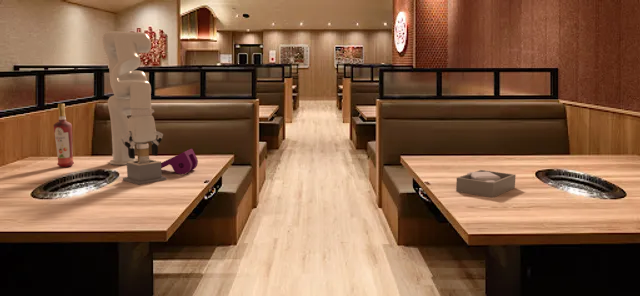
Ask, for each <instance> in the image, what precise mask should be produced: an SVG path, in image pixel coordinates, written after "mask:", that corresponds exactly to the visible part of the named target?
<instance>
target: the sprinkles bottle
mask: <svg viewBox="0 0 640 296" xmlns="http://www.w3.org/2000/svg"><path fill="white" fill-rule="evenodd" d="M135 145H136V146H135V147H136V153H137V159H138V164H144V163H149V159H150V154H149V153H150V151H149V147H150V145H149V143H148V142H142V143H136V144H135Z"/></svg>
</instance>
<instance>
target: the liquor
mask: <svg viewBox="0 0 640 296" xmlns="http://www.w3.org/2000/svg"><path fill="white" fill-rule="evenodd" d="M65 106H66V104H65V103H57V108H58V121H57V122H55V123H54V124H53V132H54V140H55V147H56V154H57V166H58V167H60V168H70V167H72V166H73V165H74V164H75V163H74V159H73V158H74V157H73V156H74V154H73V124H72V123H71V122H69V121H67V118H66V112H65V111H66V110H65V109H66V107H65Z"/></svg>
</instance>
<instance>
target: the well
mask: <svg viewBox="0 0 640 296" xmlns="http://www.w3.org/2000/svg"><path fill="white" fill-rule="evenodd" d="M161 163H162V161H160V160H156V159H151V158H149V163H144V164H138V160H136V161H129V162H127V165H126V173H127V176H125V177H122V180H123V181H124V182H129V183H131V184H135V185H137V186H138V185H144V184H145V185H146V184H150V183H151V184H152V183H156V182H162V181H167V177H166V176H164V175H162V172H163V171H162V168H161Z"/></svg>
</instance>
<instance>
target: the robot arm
mask: <svg viewBox="0 0 640 296" xmlns="http://www.w3.org/2000/svg"><path fill="white" fill-rule="evenodd" d="M102 46H103V49H104V51H105V54H106V57H107V60H108V67H109V68H108V69H109V70H108V71H109V81H110V83H109V84H110V88H111V90H112V93H113V95H112V96H109V98H108V100H107V107H108V112H109V118H110V127H111V144H112V145H111V146H112V154H111V156H112V159H111V160H109V164H110V165H114V166H125V165H126V166H127V162H129V161H136V160H138V158H136V151H135V149H136V148H135V147H136V146H135V145H136V144H138V143H148V142H149V143H151V144H152V145H151V155H152V156H158V153H159V147H158V146H159V145H160V143H161V142H162V139H163V137H164V133H162V132H160V131H158V130H157V129H156V122H155V121H156V120H155V118H154V116H153V113H155V109H153V108H152V97H151V96H152V95H151V94H152V86H151V83H150V81H148V78H147V75H146V73H145V72H144V71H143V70H137V69H138V68H139V67H140V66H141V57H140V54H142V53H143V54H144V53H145V54H148V53H150V52H151V48H152V41H151V38H150V36H149V35H148V34H147V33H145V32H139V31H136V32H135V31H115V30H114V31H107V32H104V33H103V36H102Z"/></svg>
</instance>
